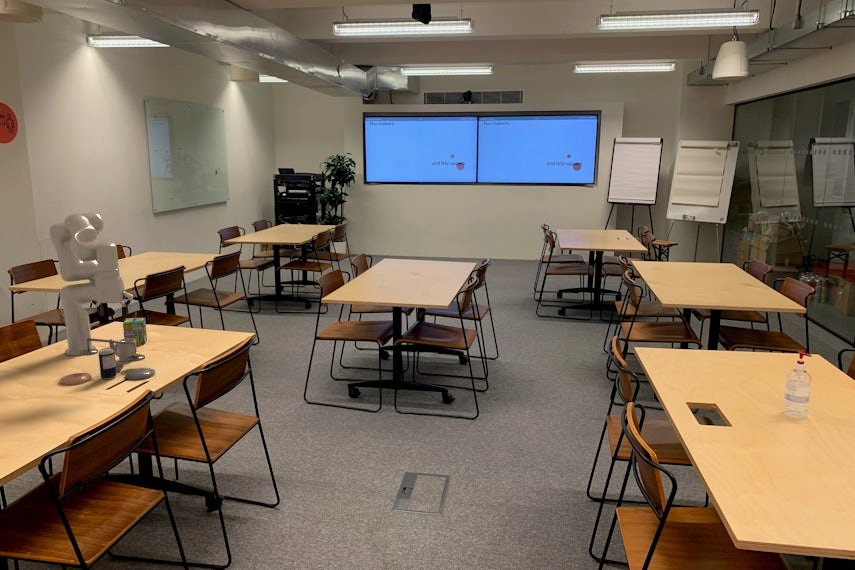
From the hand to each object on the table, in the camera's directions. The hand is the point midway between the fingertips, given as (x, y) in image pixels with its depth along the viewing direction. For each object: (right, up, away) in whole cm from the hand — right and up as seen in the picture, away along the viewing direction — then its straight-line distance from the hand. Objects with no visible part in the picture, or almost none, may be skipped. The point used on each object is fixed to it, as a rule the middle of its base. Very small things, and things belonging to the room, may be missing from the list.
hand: (113, 315), depth 249 cm
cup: (-7, -21, +25) cm, 34 cm away
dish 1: (-15, -26, 0) cm, 30 cm away
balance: (-6, -23, +12) cm, 27 cm away
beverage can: (-3, -26, +3) cm, 26 cm away
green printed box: (-14, -16, +50) cm, 54 cm away
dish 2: (+8, -25, +6) cm, 27 cm away
